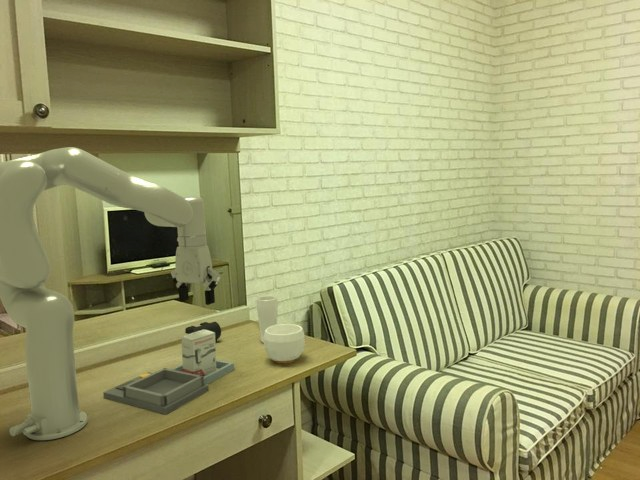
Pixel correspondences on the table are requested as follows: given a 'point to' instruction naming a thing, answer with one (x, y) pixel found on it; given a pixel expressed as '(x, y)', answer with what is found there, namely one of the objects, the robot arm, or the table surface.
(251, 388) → the table surface
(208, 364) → the ink box
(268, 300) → the drinking glass
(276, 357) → the cup
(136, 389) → the dock
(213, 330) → the end cap
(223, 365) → the blue-grey square frame
